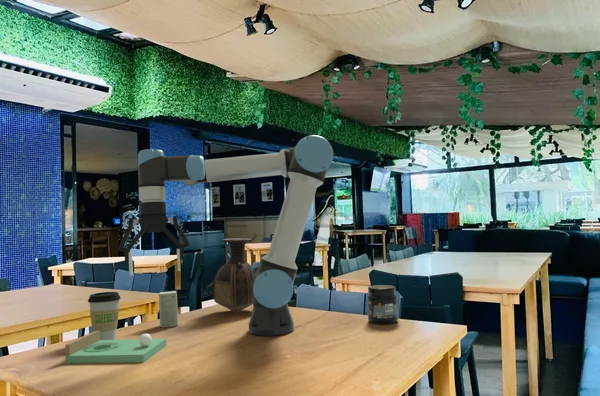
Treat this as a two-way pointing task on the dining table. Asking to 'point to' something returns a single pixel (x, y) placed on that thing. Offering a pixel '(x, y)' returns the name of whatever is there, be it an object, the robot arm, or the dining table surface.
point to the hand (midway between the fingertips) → (155, 272)
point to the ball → (145, 340)
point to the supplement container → (382, 304)
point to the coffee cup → (104, 313)
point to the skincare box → (168, 309)
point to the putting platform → (109, 350)
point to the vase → (234, 279)
